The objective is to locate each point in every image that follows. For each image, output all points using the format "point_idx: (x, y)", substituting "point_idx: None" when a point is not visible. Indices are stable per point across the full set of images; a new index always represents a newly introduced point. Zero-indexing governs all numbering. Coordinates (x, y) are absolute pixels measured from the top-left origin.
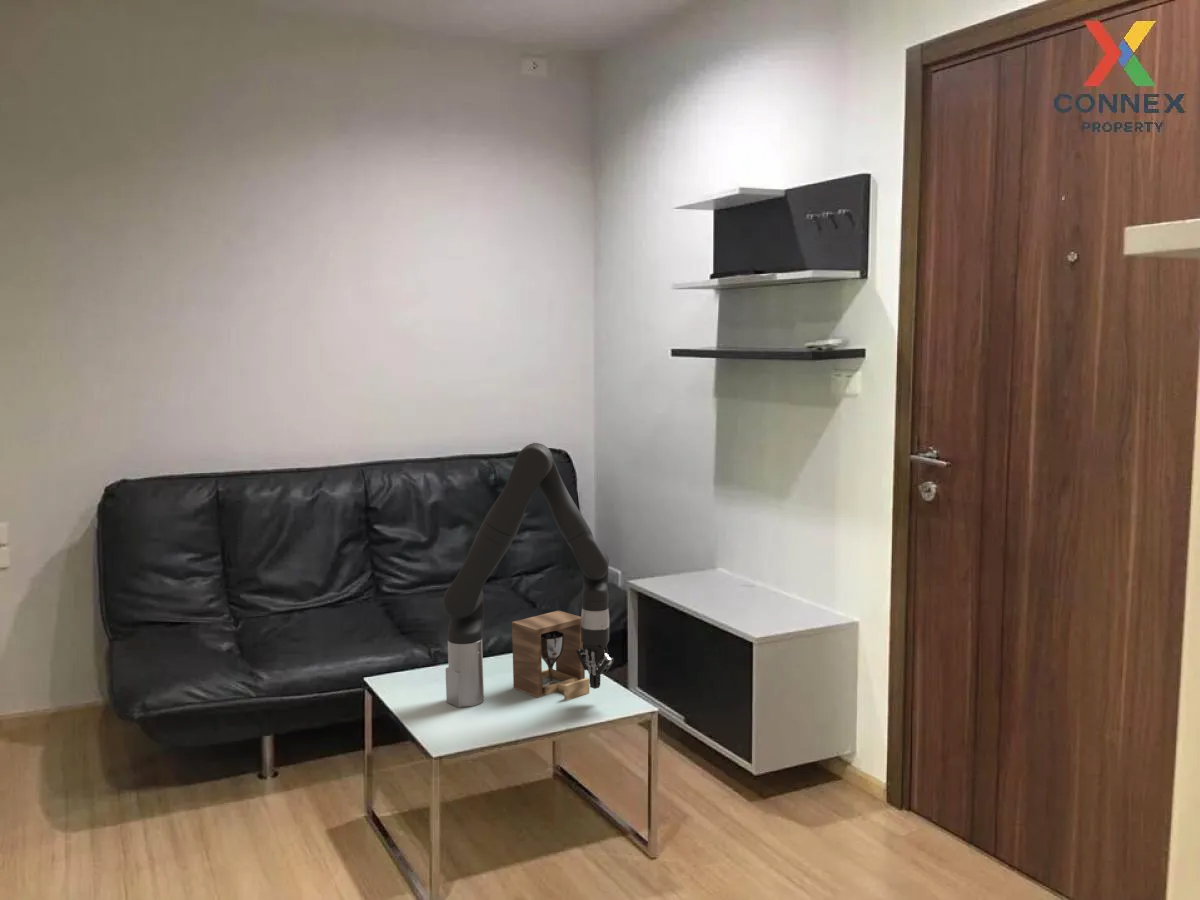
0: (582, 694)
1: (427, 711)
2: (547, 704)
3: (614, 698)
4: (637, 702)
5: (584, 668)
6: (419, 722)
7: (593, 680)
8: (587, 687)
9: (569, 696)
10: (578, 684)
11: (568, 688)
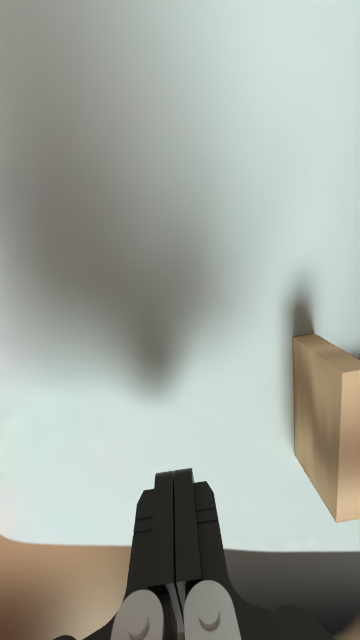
0: (296, 424)
1: None
2: (317, 217)
3: None
4: (83, 541)
5: (299, 628)
6: None
7: (154, 531)
8: (310, 471)
9: (300, 357)
10: (329, 446)
11: (328, 373)
